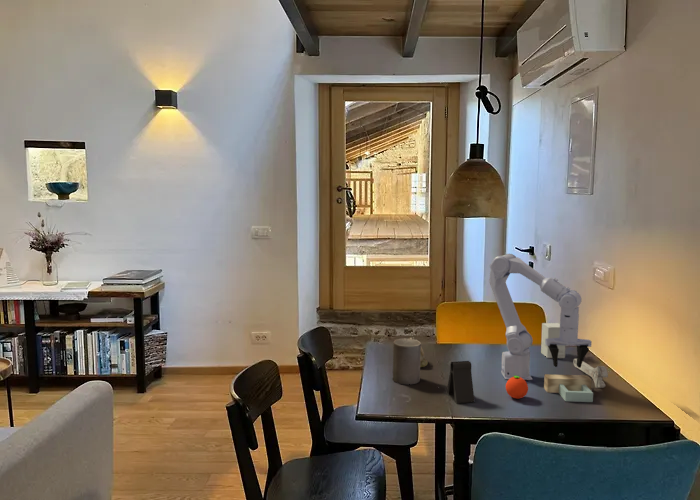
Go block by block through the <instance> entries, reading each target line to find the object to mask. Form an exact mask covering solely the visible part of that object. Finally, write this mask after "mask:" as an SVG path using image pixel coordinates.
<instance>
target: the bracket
mask: <svg viewBox="0 0 700 500" xmlns="http://www.w3.org/2000/svg"><path fill="white" fill-rule="evenodd" d="M558 394H559V395H560V396H561V398H562V399H563V400H564V402H576V403H577V402H578V403H593V401H594V392H593V391H592V389H591V390H590V389H589V388H588V387H587V386H586V385H582V388H581V391H568V390H567V388H566V387H565V386H564V385H563V384H559V393H558Z"/></svg>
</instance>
